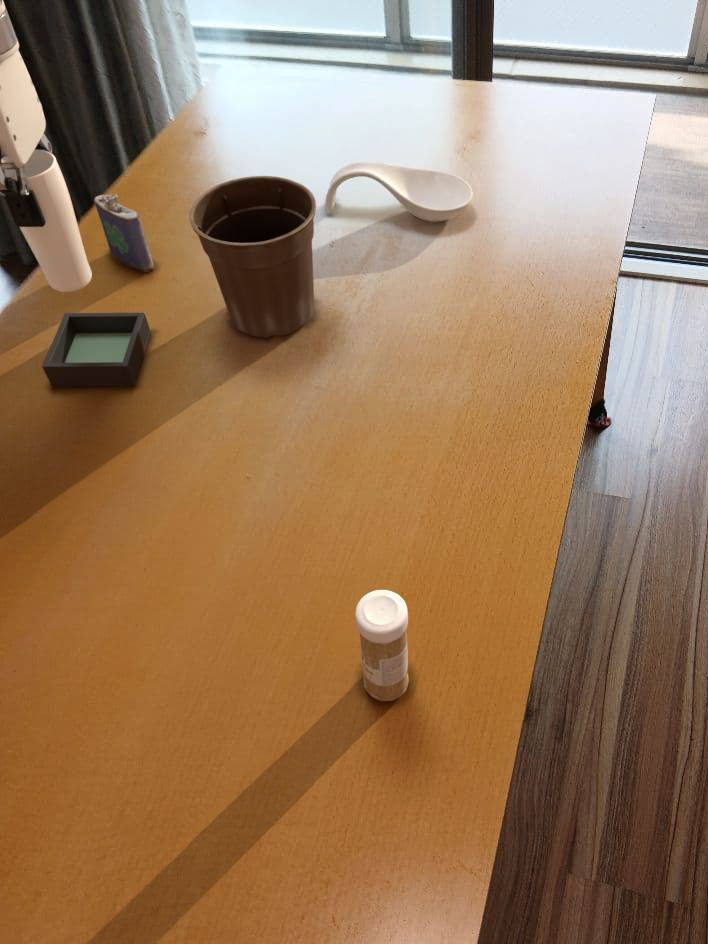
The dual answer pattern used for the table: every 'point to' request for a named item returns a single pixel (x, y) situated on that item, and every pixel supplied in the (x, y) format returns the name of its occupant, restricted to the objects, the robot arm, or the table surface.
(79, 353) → the cup holder
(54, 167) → the white tapered cylinder
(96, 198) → the flask
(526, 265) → the table surface
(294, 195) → the plant pot
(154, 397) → the table surface
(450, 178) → the spoon rest
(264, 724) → the table surface
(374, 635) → the sprinkles bottle
